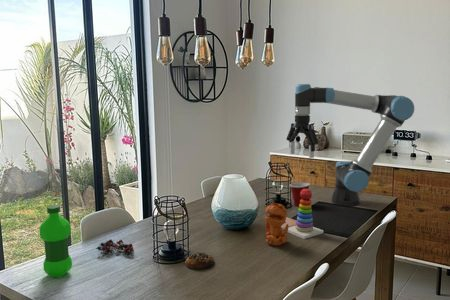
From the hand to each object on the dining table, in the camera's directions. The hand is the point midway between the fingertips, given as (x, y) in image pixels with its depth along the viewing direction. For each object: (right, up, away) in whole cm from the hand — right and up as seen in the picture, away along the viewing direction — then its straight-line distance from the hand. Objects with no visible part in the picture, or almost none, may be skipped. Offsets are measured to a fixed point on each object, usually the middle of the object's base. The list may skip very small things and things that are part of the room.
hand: (301, 155), depth 223 cm
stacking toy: (-4, -33, -29) cm, 44 cm away
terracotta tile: (-12, -32, -18) cm, 39 cm away
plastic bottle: (-99, -42, -69) cm, 127 cm away
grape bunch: (-83, -38, -48) cm, 103 cm away
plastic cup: (+1, -27, +12) cm, 30 cm away
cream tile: (-4, -34, -29) cm, 44 cm away
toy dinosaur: (-18, -36, -41) cm, 58 cm away
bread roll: (-49, -40, -60) cm, 87 cm away
